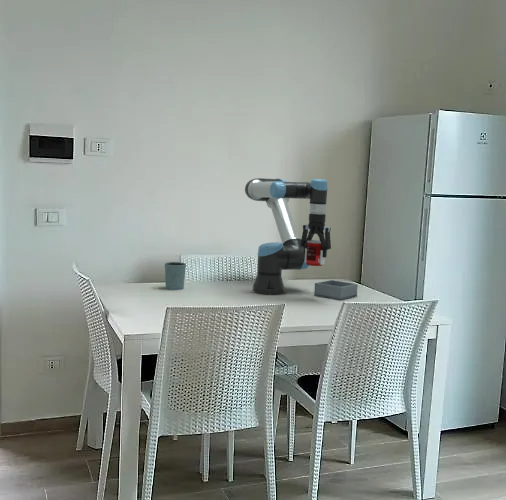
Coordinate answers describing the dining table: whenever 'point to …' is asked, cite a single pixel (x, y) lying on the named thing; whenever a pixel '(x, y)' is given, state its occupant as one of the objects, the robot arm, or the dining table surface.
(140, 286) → the dining table surface
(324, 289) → the bin
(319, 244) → the canned food
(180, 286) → the blue-grey cup
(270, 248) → the robot arm
